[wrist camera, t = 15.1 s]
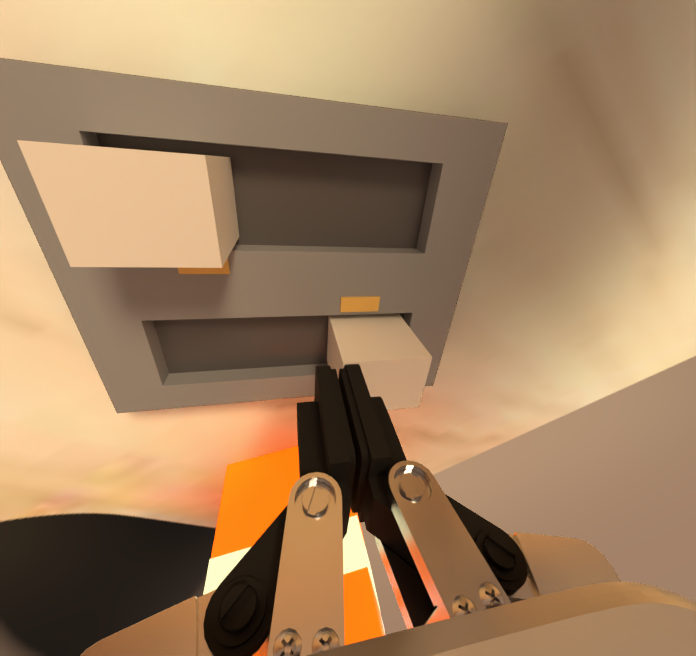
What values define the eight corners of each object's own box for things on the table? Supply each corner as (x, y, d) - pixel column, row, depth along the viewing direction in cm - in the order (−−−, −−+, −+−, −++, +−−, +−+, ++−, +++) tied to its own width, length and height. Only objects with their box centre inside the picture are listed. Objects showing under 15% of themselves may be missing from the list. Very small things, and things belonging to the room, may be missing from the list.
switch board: (479, 128, 13) (509, 122, 12) (420, 366, 20) (433, 386, 18) (9, 70, 10) (-54, 49, 8) (133, 387, 16) (116, 414, 15)
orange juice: (353, 487, 26) (484, 1079, 9) (257, 514, 25) (211, 1219, 8) (339, 432, 22) (530, 1319, 5) (225, 463, 21) (7, 1636, 4)
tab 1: (230, 157, 11) (204, 155, 7) (239, 236, 12) (222, 267, 9) (111, 147, 10) (16, 139, 7) (136, 233, 12) (70, 267, 8)
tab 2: (398, 313, 16) (432, 357, 12) (390, 356, 18) (419, 406, 14) (328, 315, 15) (343, 362, 12) (326, 359, 17) (339, 415, 13)
